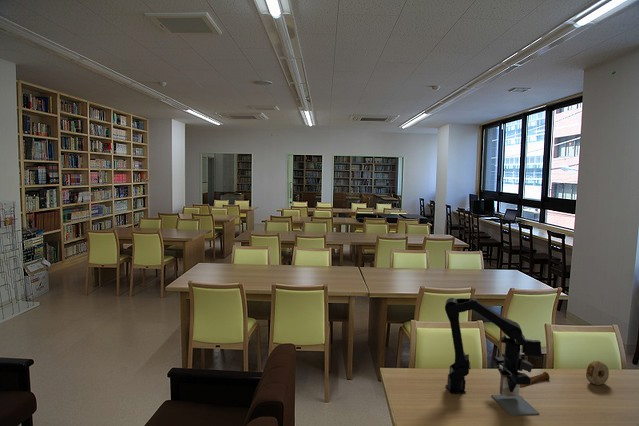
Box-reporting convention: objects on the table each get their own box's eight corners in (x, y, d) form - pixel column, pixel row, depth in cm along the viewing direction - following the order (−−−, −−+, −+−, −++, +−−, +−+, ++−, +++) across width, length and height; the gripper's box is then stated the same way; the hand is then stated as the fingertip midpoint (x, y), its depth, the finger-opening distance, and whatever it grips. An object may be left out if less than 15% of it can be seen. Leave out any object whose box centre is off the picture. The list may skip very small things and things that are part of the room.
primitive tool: (520, 389, 180) (520, 381, 180) (510, 383, 185) (510, 375, 185) (550, 381, 188) (551, 373, 187) (540, 375, 193) (540, 368, 192)
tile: (502, 396, 168) (504, 378, 168) (499, 393, 171) (500, 375, 170) (518, 396, 169) (520, 377, 168) (515, 392, 172) (516, 374, 171)
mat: (510, 415, 159) (510, 414, 159) (491, 396, 173) (491, 395, 172) (539, 414, 160) (539, 413, 160) (518, 395, 174) (518, 394, 174)
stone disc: (591, 386, 182) (592, 365, 181) (583, 382, 186) (585, 361, 185) (609, 384, 185) (611, 363, 184) (602, 380, 188) (604, 359, 188)
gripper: (545, 363, 160) (542, 401, 162) (517, 343, 179) (514, 378, 180) (518, 364, 159) (515, 402, 160) (492, 344, 177) (490, 379, 179)
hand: (509, 390), depth 170 cm, fingers closed on tile, 2 cm apart
